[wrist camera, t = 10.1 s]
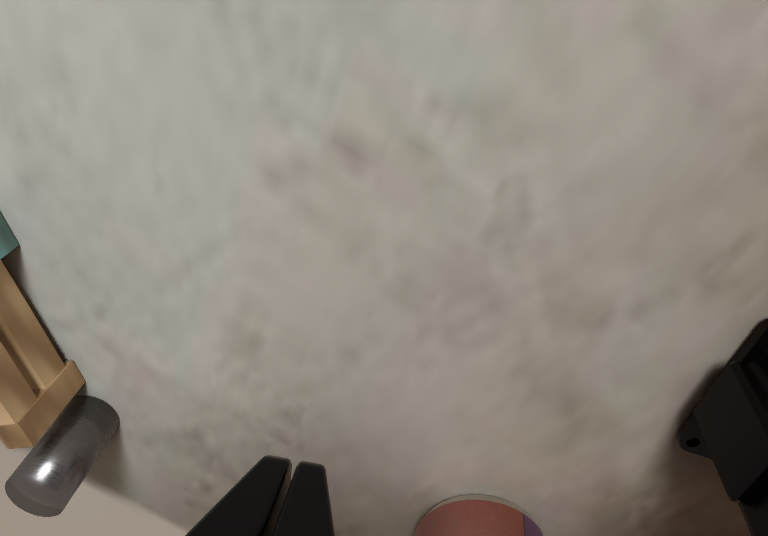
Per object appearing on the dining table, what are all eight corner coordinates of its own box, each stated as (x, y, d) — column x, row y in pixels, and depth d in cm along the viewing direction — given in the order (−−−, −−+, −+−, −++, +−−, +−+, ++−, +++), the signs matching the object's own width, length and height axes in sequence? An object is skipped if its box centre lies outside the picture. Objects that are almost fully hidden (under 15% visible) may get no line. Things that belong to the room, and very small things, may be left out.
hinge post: (120, 405, 28) (64, 485, 24) (117, 441, 29) (64, 523, 26) (68, 389, 28) (4, 468, 24) (67, 426, 29) (5, 506, 26)
